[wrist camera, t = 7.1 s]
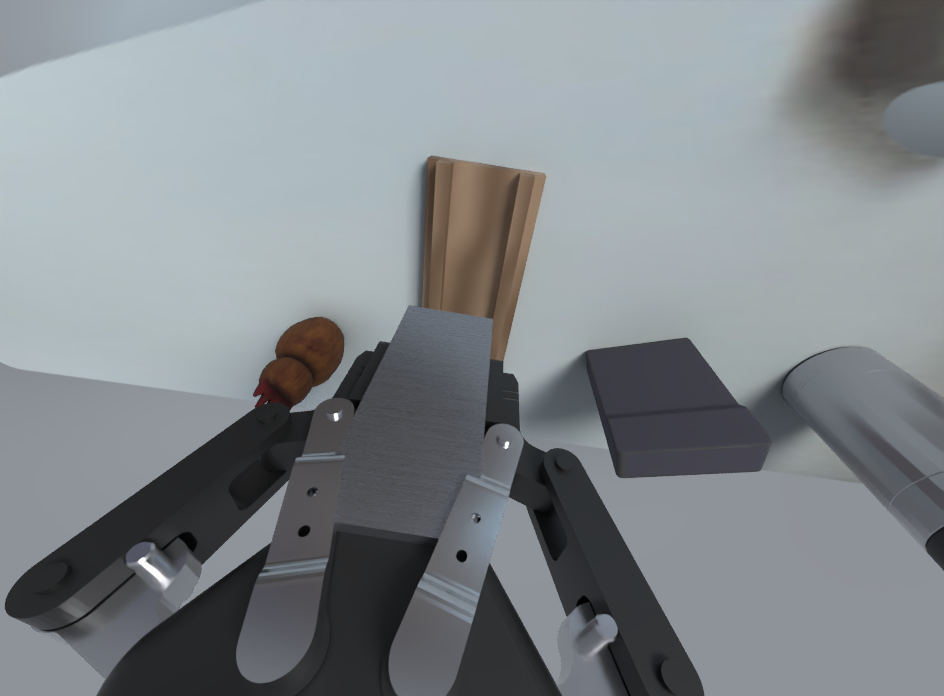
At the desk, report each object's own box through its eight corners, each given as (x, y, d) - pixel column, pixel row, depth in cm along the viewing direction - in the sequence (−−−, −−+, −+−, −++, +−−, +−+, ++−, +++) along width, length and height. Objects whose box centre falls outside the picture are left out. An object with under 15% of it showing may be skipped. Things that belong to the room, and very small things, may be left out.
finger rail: (544, 173, 29) (559, 204, 20) (499, 372, 43) (495, 446, 33) (431, 155, 29) (392, 178, 20) (421, 360, 43) (396, 430, 33)
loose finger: (493, 318, 16) (475, 544, 8) (482, 373, 18) (459, 596, 10) (409, 305, 16) (303, 517, 8) (407, 361, 18) (323, 575, 10)
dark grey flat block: (586, 374, 41) (617, 484, 29) (585, 346, 39) (616, 453, 27) (684, 362, 39) (761, 477, 27) (689, 332, 37) (775, 443, 25)
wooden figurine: (357, 353, 43) (297, 449, 31) (316, 354, 44) (242, 448, 32) (340, 307, 39) (263, 396, 27) (295, 309, 40) (201, 397, 28)
